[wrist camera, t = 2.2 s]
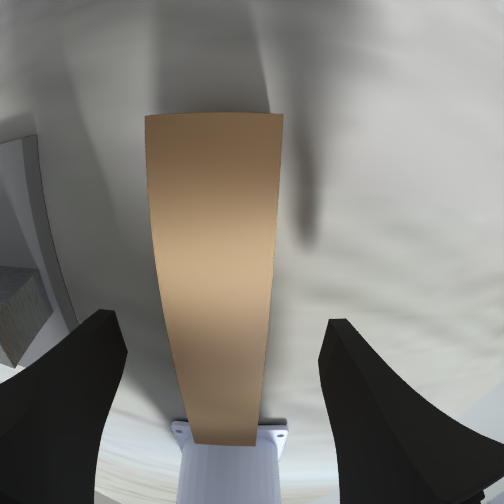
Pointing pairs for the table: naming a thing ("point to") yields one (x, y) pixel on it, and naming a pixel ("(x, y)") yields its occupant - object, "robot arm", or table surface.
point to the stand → (28, 262)
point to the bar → (215, 259)
